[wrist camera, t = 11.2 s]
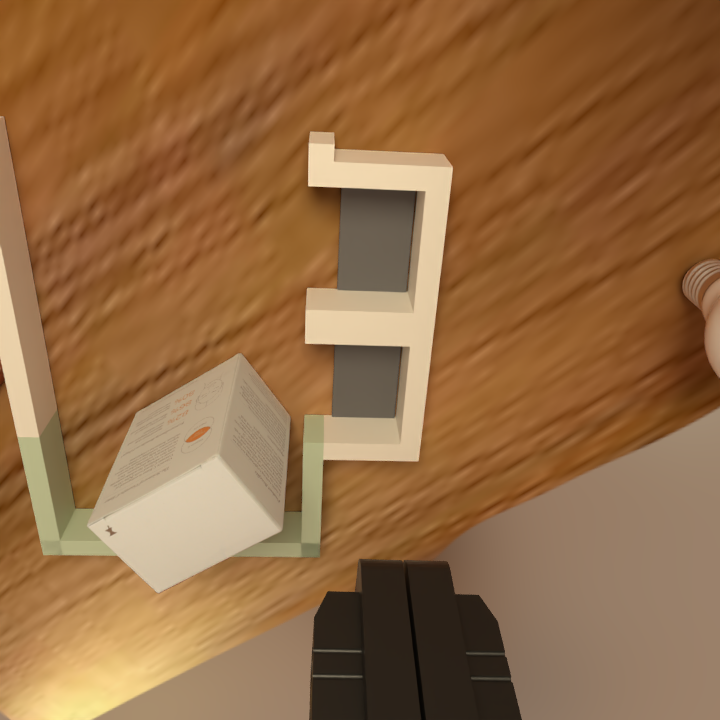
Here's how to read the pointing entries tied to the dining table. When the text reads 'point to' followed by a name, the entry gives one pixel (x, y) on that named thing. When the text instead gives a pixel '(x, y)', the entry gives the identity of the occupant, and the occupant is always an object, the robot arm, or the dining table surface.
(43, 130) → the dining table surface
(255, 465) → the small box
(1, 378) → the bread slice
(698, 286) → the lightbulb
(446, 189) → the channel
